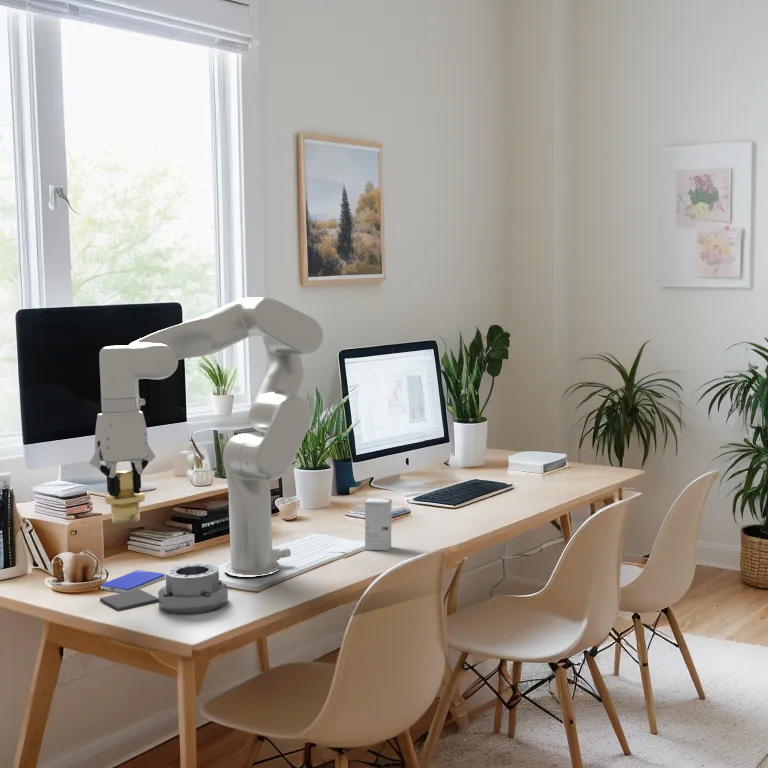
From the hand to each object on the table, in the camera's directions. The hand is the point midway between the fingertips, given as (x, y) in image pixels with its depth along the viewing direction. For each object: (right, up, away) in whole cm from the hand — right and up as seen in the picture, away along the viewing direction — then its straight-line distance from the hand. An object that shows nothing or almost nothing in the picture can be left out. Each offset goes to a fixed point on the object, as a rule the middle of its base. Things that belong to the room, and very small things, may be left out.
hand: (124, 493), depth 209 cm
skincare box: (+52, -18, +41) cm, 69 cm away
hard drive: (-2, -22, +15) cm, 27 cm away
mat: (+1, -23, +2) cm, 23 cm away
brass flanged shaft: (0, -6, 0) cm, 6 cm away
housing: (+14, -23, -1) cm, 27 cm away
